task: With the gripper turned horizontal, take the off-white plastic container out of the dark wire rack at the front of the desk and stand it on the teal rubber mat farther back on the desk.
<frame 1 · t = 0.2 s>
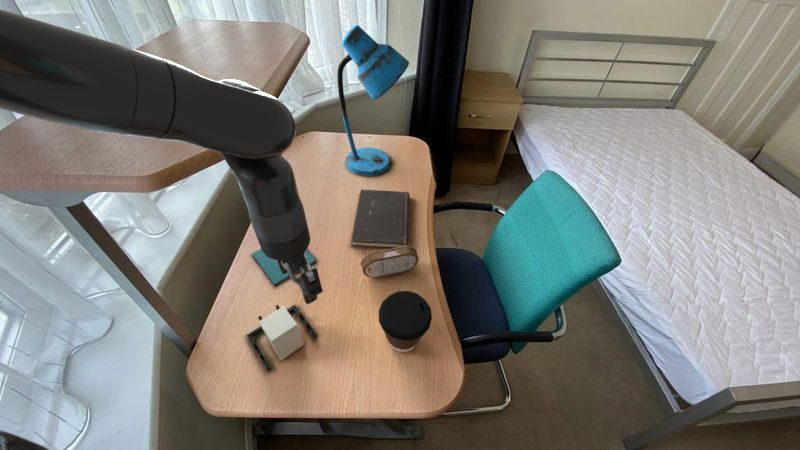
hand: (299, 285, 60), 19 cm above the table, tool pointing down, fingers open, 8 cm apart
rack: (286, 342, 71), on the table
coffee cup: (402, 339, 73), on the table
desk lamp: (373, 163, 122), on the table
container: (286, 342, 71), on the table
tin: (389, 272, 86), on the table
mat: (284, 258, 88), on the table
hardcover book: (382, 220, 100), on the table
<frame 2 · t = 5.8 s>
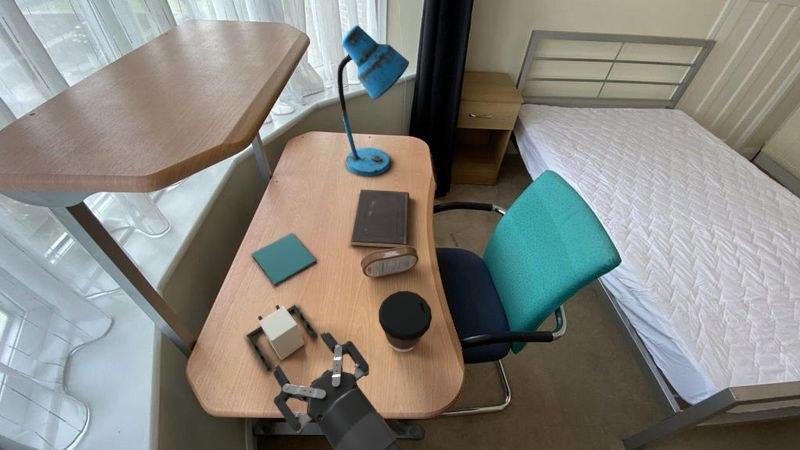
hand: (300, 350, 55), 15 cm above the table, tool horizontal, fingers open, 8 cm apart
nothing on the table moved.
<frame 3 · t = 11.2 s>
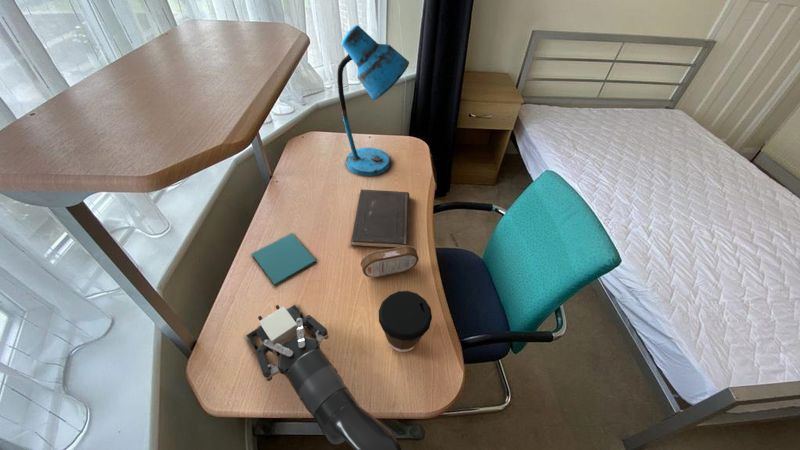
hand: (274, 319, 68), 7 cm above the table, tool horizontal, fingers closed on container, 5 cm apart
container: (286, 342, 71), on the table, touching gripper
everything else where it was.
when the fingers open (8 cm above the table, at t = 20.9 s): container stays where it is, resting on mat.
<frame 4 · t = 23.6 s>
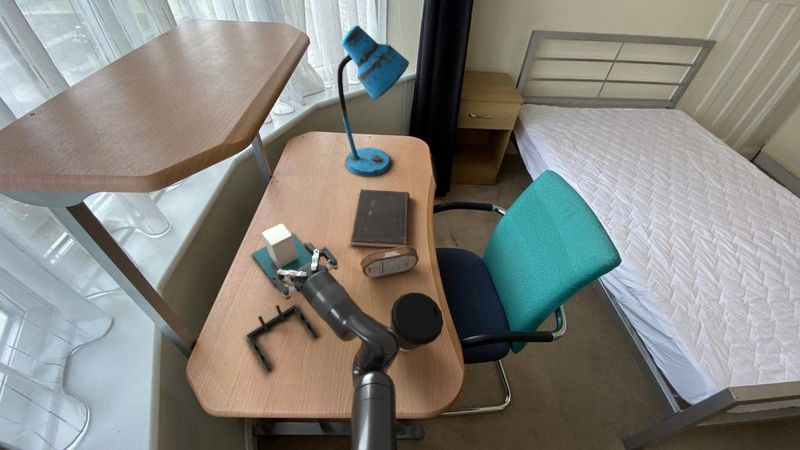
hand: (290, 253, 78), 9 cm above the table, tool horizontal, fingers open, 8 cm apart
container: (284, 256, 88), point 1 cm above the table, touching mat
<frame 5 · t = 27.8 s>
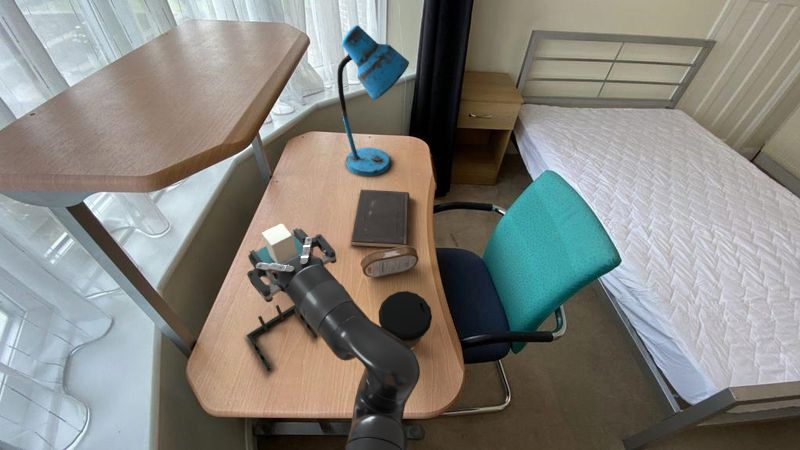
hand: (274, 241, 60), 24 cm above the table, tool horizontal, fingers open, 8 cm apart
at the end: container inside the target area on the mat (0.1 cm from its centre), point 0.6 cm above the mat's base; container tilted 0°; the gripper is holding nothing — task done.
